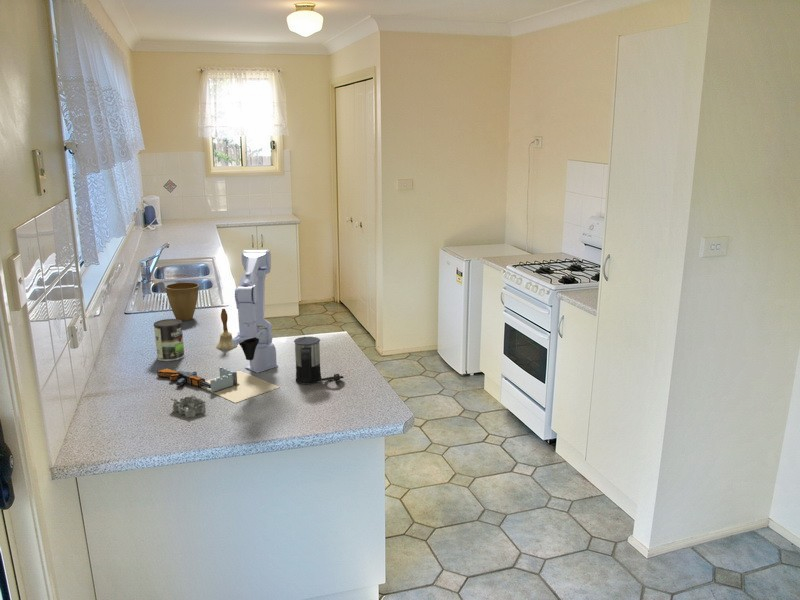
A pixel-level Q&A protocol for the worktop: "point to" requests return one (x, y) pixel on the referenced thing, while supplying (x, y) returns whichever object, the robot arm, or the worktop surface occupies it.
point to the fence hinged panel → (223, 382)
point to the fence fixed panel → (225, 372)
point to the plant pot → (183, 299)
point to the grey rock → (189, 406)
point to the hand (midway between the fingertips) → (249, 359)
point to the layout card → (243, 388)
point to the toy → (183, 377)
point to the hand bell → (225, 334)
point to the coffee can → (169, 339)
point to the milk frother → (309, 361)
